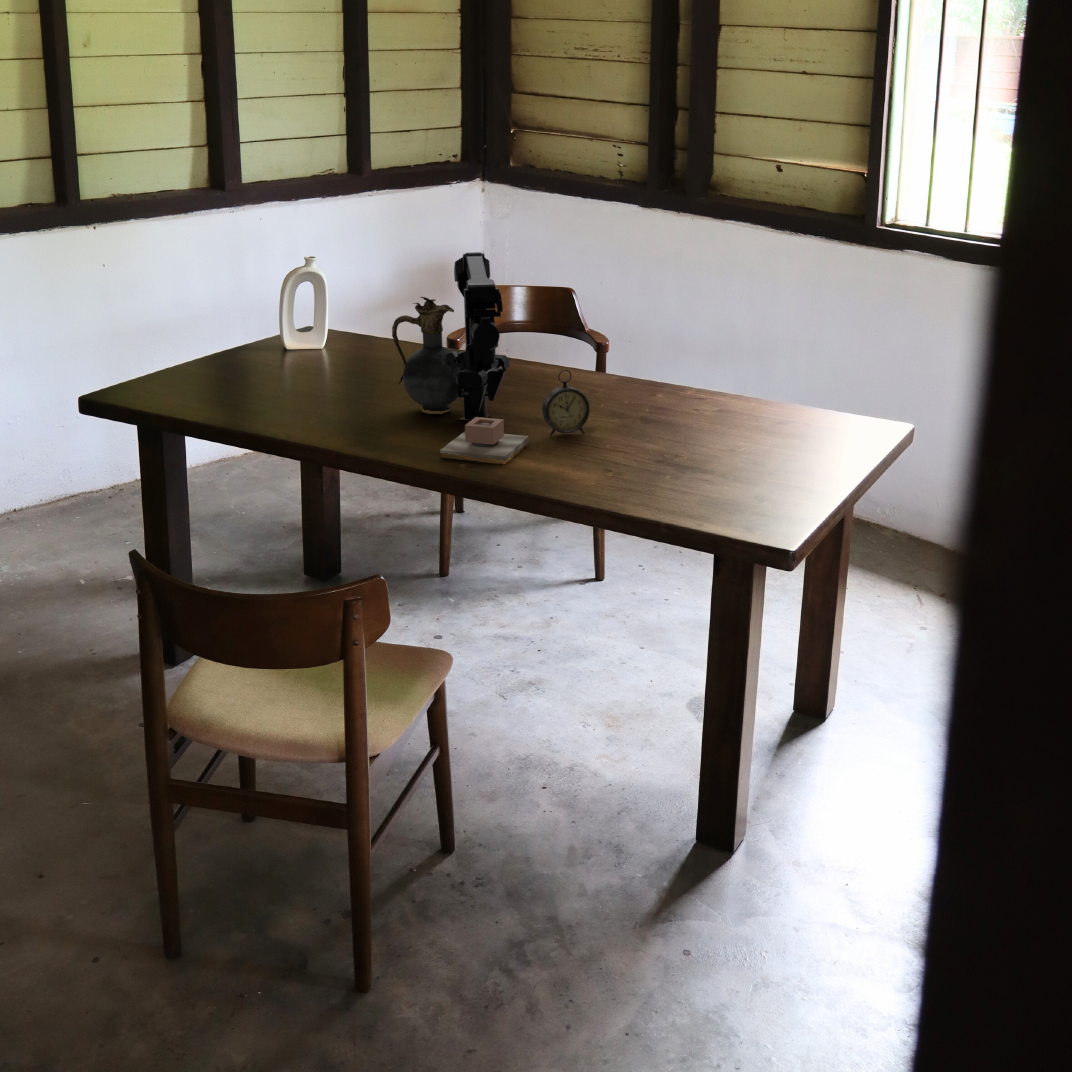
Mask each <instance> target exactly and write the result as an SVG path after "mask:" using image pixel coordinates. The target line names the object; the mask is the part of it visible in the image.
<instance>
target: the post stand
mask: <svg viewBox="0 0 1072 1072" xmlns="http://www.w3.org/2000/svg"><path fill="white" fill-rule="evenodd" d="M480 425H489V426H490V424H489V423H481V424H480ZM529 437H530V436H528V435H521V434H520V435H518V434H511V433H509V434H508V433H504V436H503V437H502V438H501V439H500V440H498V441H497V442H496V443H495V444H494V445H493V444H482V443H472V442H465V431H463V432H462V433H460V434H459V435H458V436H457V437H456V438H454V439H453V440H451V441H450V442H448V443H447V444H446V445H444V447H442V448H441V449H440V450H439V451H440V453H448V454H454V455H464V456H470V457H478V458H488V459H495V460H502V461H503V460H504V461H506V460H507V459H508V458H510V457H511V456H512V455H513V454H514V453H515V452H517V451H518V450H519V449H520V448H522V446H524V445H525V444H526V443H528V442H529V443H530V441H529V440H530V439H529Z"/></svg>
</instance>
